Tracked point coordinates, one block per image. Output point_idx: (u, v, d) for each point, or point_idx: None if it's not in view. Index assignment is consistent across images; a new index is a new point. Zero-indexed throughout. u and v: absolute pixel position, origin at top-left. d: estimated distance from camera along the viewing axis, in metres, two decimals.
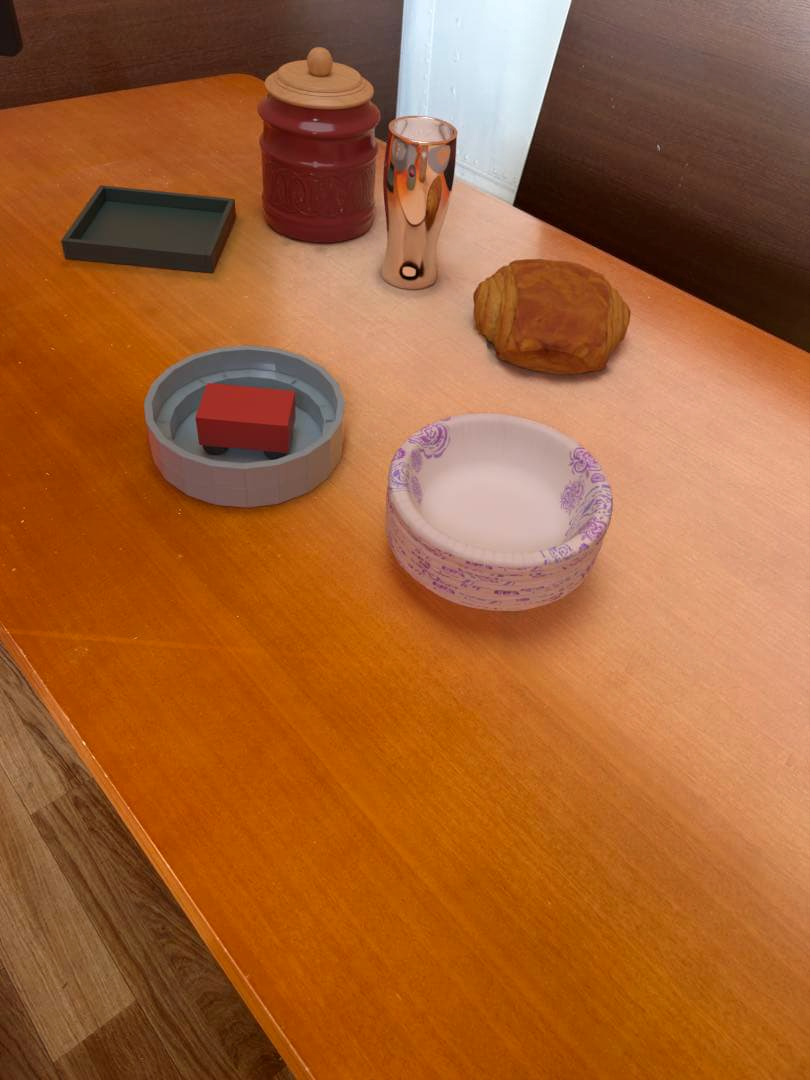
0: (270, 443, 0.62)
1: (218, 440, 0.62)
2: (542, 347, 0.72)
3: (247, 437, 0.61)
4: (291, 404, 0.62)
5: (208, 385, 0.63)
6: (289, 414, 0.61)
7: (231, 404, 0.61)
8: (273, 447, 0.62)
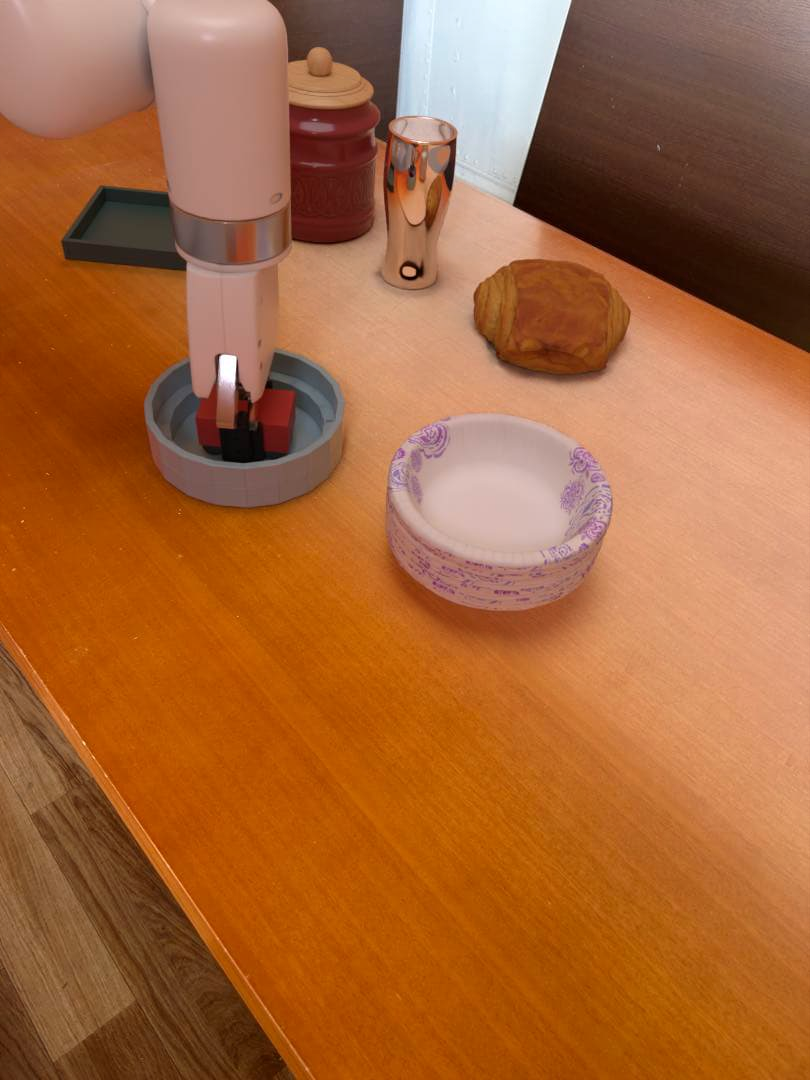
0: (270, 443, 0.62)
1: (218, 440, 0.62)
2: (542, 347, 0.72)
3: None
4: (291, 404, 0.62)
5: None
6: (289, 414, 0.61)
7: None
8: (273, 447, 0.62)
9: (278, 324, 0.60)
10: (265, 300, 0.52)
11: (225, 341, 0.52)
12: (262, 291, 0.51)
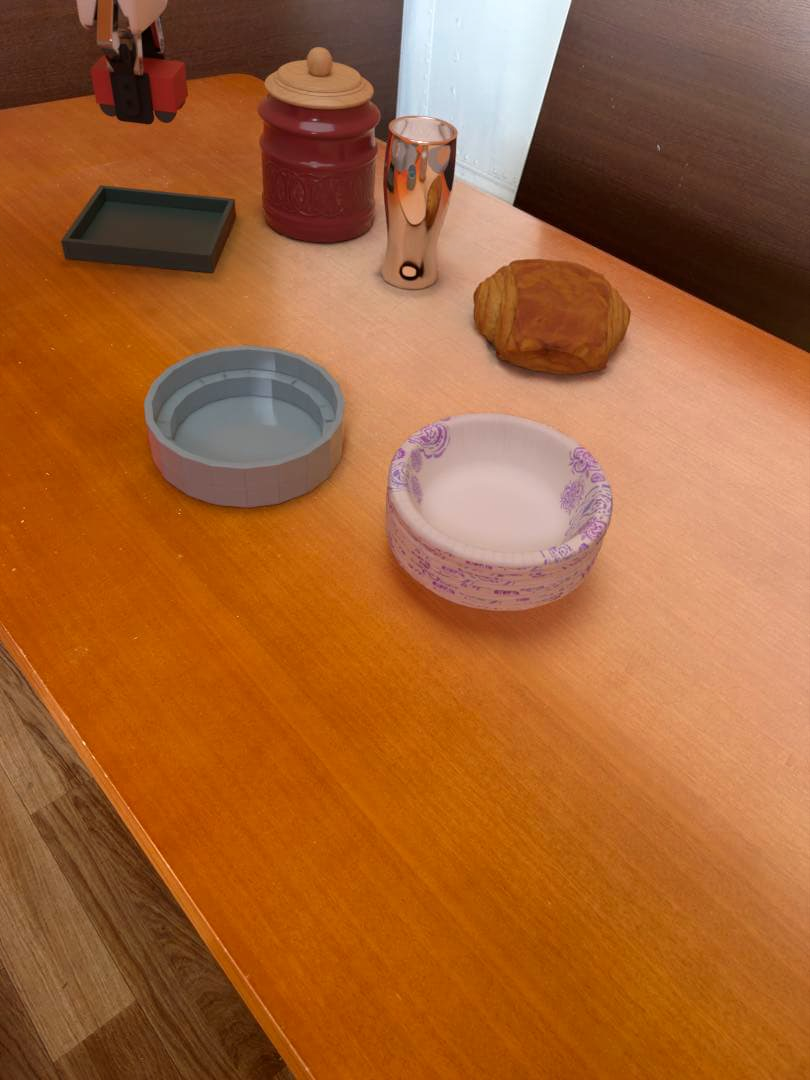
0: (159, 100, 0.69)
1: None
2: (542, 347, 0.72)
3: None
4: (179, 68, 0.70)
5: None
6: (176, 73, 0.69)
7: None
8: (162, 106, 0.70)
9: None
10: None
11: None
12: None
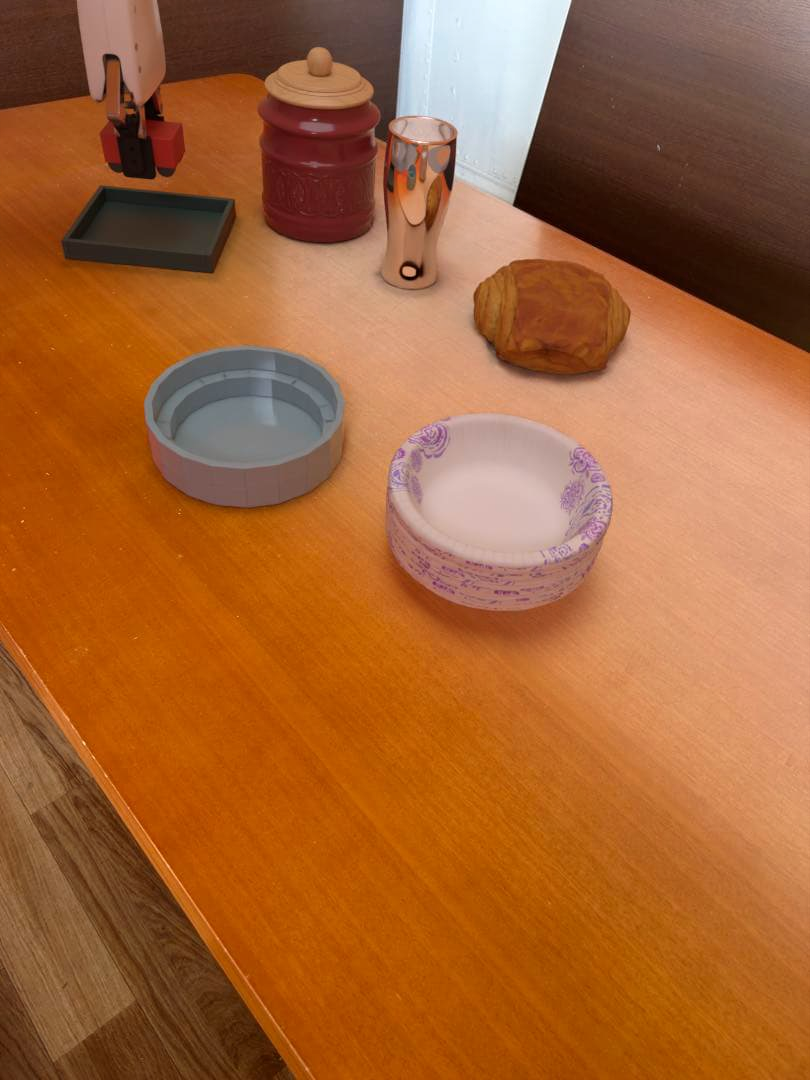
0: (160, 158, 0.78)
1: None
2: (542, 347, 0.72)
3: None
4: (177, 129, 0.79)
5: None
6: (174, 134, 0.78)
7: None
8: (163, 163, 0.79)
9: (163, 61, 0.77)
10: (139, 12, 0.69)
11: (108, 41, 0.69)
12: (135, 1, 0.68)
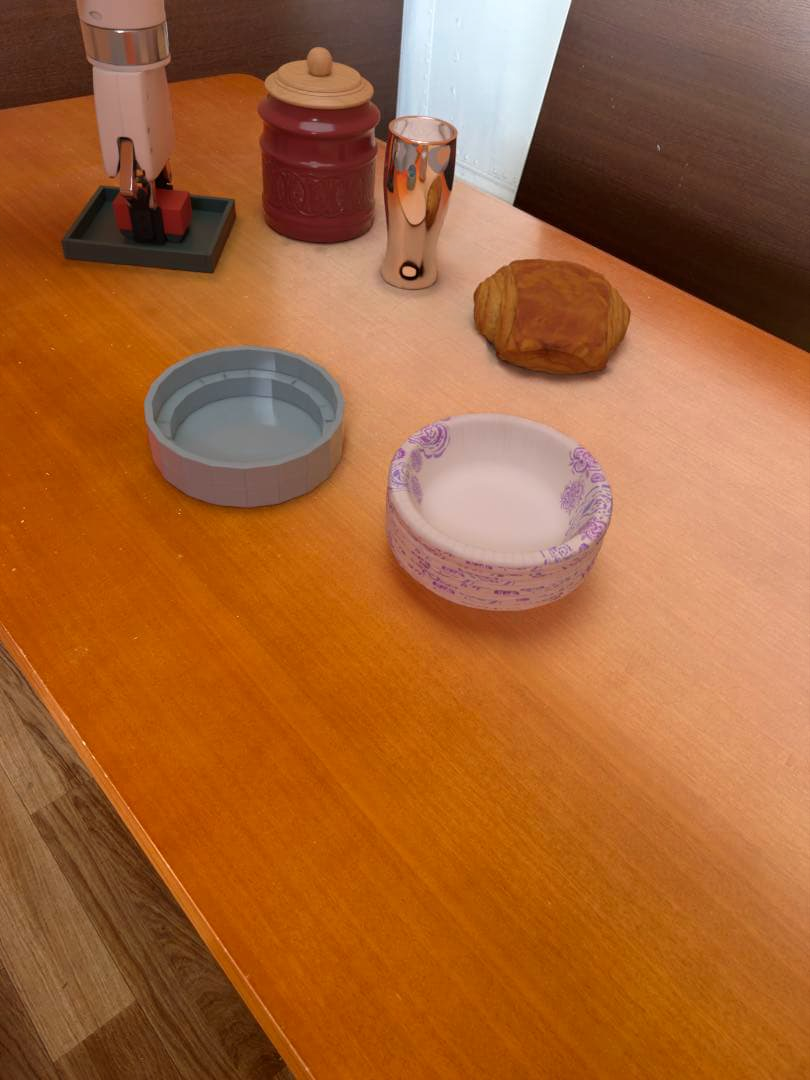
0: (169, 226, 0.83)
1: None
2: (542, 347, 0.72)
3: None
4: (185, 198, 0.84)
5: None
6: (183, 204, 0.83)
7: None
8: (171, 230, 0.84)
9: (173, 136, 0.82)
10: (151, 98, 0.74)
11: (123, 126, 0.74)
12: (148, 89, 0.73)
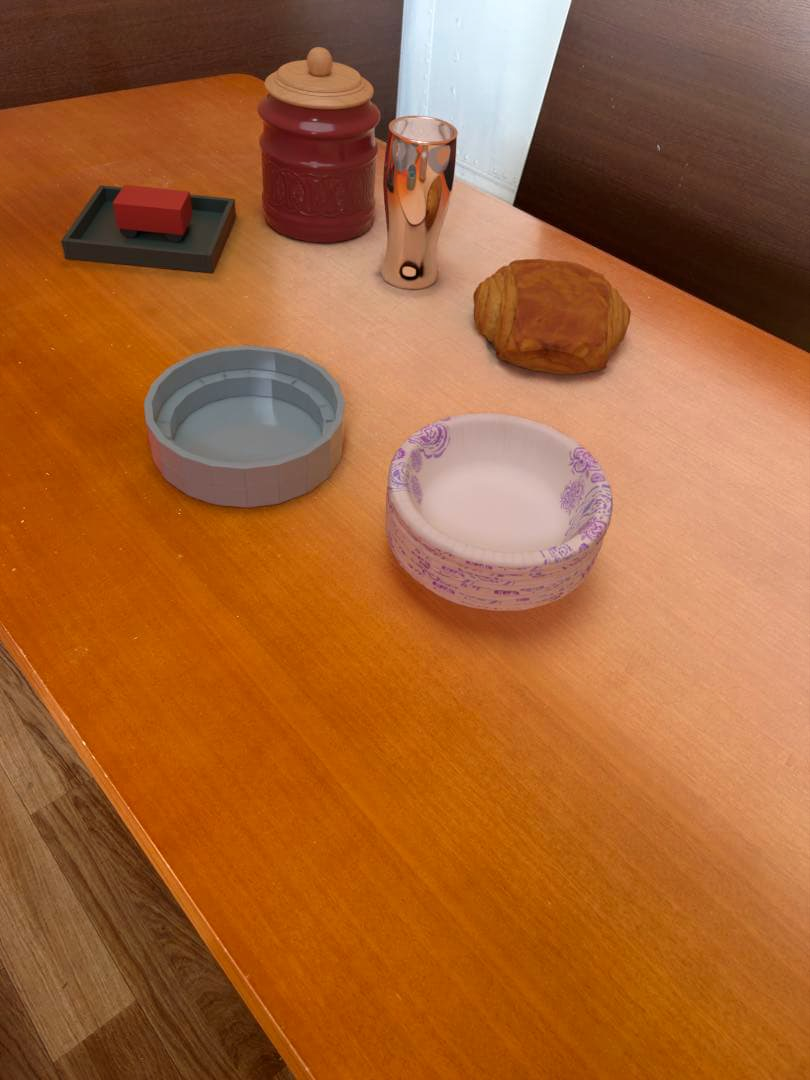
0: (169, 226, 0.84)
1: (131, 224, 0.84)
2: (542, 347, 0.72)
3: (152, 220, 0.83)
4: (185, 198, 0.84)
5: (124, 186, 0.85)
6: (183, 204, 0.83)
7: (140, 197, 0.83)
8: (172, 230, 0.84)
9: None
10: None
11: None
12: None
